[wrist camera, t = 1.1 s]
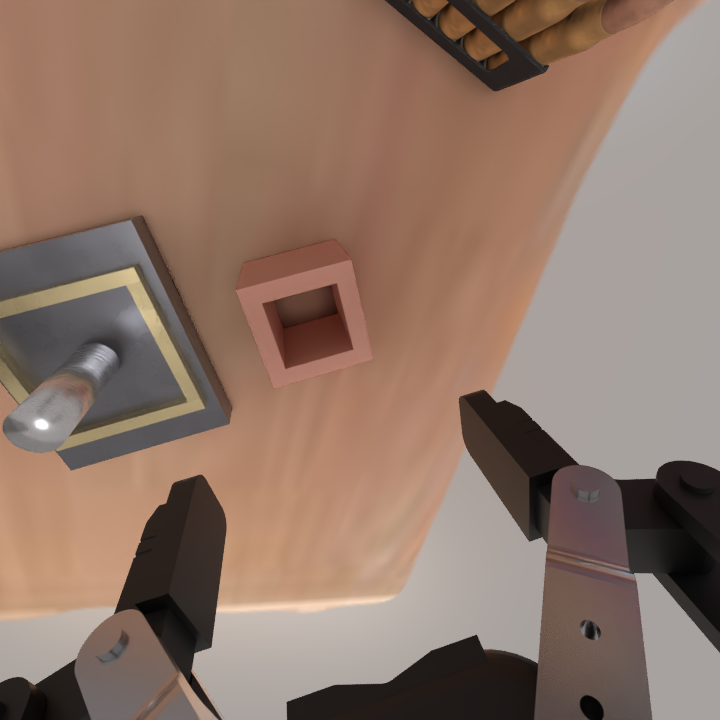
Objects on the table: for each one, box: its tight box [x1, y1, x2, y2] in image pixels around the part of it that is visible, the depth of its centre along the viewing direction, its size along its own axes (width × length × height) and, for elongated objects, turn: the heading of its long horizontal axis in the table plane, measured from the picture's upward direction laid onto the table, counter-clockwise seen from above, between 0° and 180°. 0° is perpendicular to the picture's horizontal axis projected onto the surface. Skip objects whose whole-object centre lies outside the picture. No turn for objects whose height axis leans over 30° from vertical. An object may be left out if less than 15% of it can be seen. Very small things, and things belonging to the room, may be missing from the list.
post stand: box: [0, 216, 232, 470], centre depth 21 cm, size 14×11×9 cm
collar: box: [236, 239, 374, 388], centre depth 24 cm, size 6×6×6 cm
